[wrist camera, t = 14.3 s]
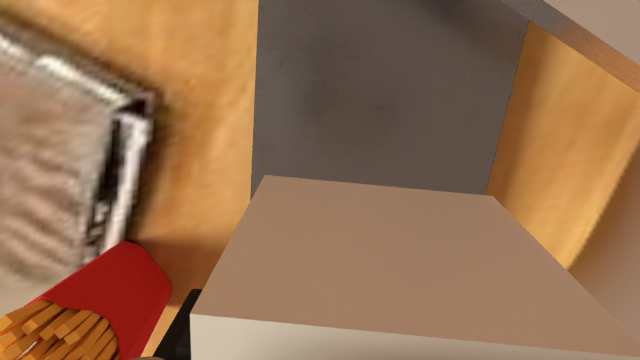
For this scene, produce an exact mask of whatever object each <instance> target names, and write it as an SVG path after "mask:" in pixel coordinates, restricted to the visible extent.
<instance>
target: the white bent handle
mask: <svg viewBox="0 0 640 360" xmlns="http://www.w3.org/2000/svg"><path fill="white" fill-rule="evenodd" d="M500 1H502V2H503V3H505V4H506V5H508V6H509V7H511V8H512V9H514V10H515V11H517V12H518V13H520V14H521V15H523V16H524V17H526V18H527V19H529V20H530V21H532V22H533V23H535V24H536V25H538V26H539V27H541V28H542V29H544V30H545V31H547V32H548V33H550V34H551V35H553V36H554V37H556V38H557V39H559V40H560V41H562V42H563V43H565V44H566V45H568V46H569V47H571V48H572V49H574V50H575V51H577V52H578V53H580V54H581V55H583V56H584V57H586V58H587V59H589V60H590V61H592V62H593V63H595V64H596V65H598V66H599V67H601V68H602V69H604V70H605V71H607V72H608V73H610V74H611V75H613V76H614V77H616V78H617V79H619V80H620V81H622V82H623V83H625V84H626V85H628V86H629V87H631V88H632V89H634V90H635V91H638V92H640V0H500Z"/></svg>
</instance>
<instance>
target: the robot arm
mask: <svg viewBox="0 0 640 360" xmlns="http://www.w3.org/2000/svg"><path fill="white" fill-rule="evenodd" d="M201 292H202V289H193V290H191V292H190V293H189V295H188V296H187V298H186V300H185V301H184V303H183V305H182V307H181V308H180V310H179V312H178V313H177V315H176V317H175V318H174V320H173V322H172V324H171V325H170V327H169V329H168V330H167V332H166V334H165V336H164V337H163V339H162V341H161V342H160V344H159V346H158V348H157V349H156V351H155V353H154V354H153V356H152V357H139V358H136V359H132V360H191V335H190V313H191V311H192V309H193V307H194V305H195V303H196V301H197V300H198V298H199V296H200V294H201Z"/></svg>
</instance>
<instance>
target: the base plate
mask: <svg viewBox="0 0 640 360" xmlns="http://www.w3.org/2000/svg"><path fill="white" fill-rule="evenodd" d="M528 21H529V19H527V18H526V17H524V16H523V15H521V14H520V13H518V12H517V11H515V10H514V9H512V8H511V7H509V6H508V5H506V4H505V3H503V2H502V1H500V0H259V6H258V30H257V55H256V79H255V103H254V127H253V151H252V175H251V199H252V198H253V196H254V194H255V192H256V190H257V188H258V186H259V185H260V183H261V181H262V179H263V177H264V175H271V176H282V177H293V178H304V179H314V180H325V181H336V182H347V183H358V184H368V185H379V186H390V187H401V188H412V189H422V190H433V191H444V192H455V193H466V194H476V195H485V193H486V189H487V185H488V181H489V177H490V173H491V169H492V165H493V161H494V157H495V153H496V149H497V145H498V141H499V137H500V133H501V129H502V125H503V121H504V117H505V113H506V109H507V105H508V101H509V97H510V93H511V89H512V85H513V81H514V77H515V73H516V69H517V65H518V61H519V57H520V53H521V49H522V45H523V41H524V37H525V33H526V29H527V25H528ZM251 199H250V201H251Z"/></svg>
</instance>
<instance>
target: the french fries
mask: <svg viewBox="0 0 640 360" xmlns="http://www.w3.org/2000/svg"><path fill="white" fill-rule="evenodd" d="M170 296H171V281H170V280H169V279H168V277H167V276H166V275H165V273H164V272H163V271H162V270H161V268H160V267H159V266H158V265H157V263H156V262H155V261H154V260H153V259H152V258H151V256H150V255H149V254H148V253H147V252H146V251H145V250H144V249H143V248H142V247H141V246H140V245H137V244H134V243H131V242H128V241H125V240H123V241H122V242H120V243H119V244H117V245H115V246H114V247H112V248H110V249H109V250H107V251H106V252H104V253H103V254H101V255H100V256H98V257H97V258H95V259H94V260H92V261H91V262H89V263H88V264H86V265H85V266H83V267H82V268H80V269H79V270H77V271H76V272H74V273H73V274H71V275H70V276H69V277H67V278H66V279H64V280H63V281H61V282H60V283H58V284H57V285H55V286H54V287H52V288H51V289H49V290H48V291H46V292H45V293H43V294H42V295H40V296H39V297H37V298H36V299H34V300H33V301H31V302H30V303H28V304H27V305H25V306H24V307H22V308H20V309H18V310H16V311H13V312H11V313H9V314H6V315H5V316H4V317H2V318H1V319H0V337H1V336H2V337H1V338H0V360H16V359H17V358H18V357H19V356H20V355H21V354H22V353H23V352H24V351H26V350H27V349H28V348H29V347H30V346H31V345H32V344H33V343H34V342H35V341H36V342H37V343H36V344H35V345H34V346H33V347H32V348H31V349H30V350H29V351H28V352H27V353H26V354H24V355H23V356H22V357H21V358H19V359H18V360H132V359H136V358H139V357H140V356H141V354H142V352H143V350H144V348H145V346H146V344H147V342H148V340H149V338H150V336H151V334H152V332H153V330H154V328H155V326H156V324H157V322H158V320H159V318H160V316H161V314H162V312H163V310H164V308H165V306H166V304H167V302H168V300H169V298H170ZM6 333H7V334H6ZM4 334H5V335H4ZM3 335H4V336H3ZM13 343H14V344H13ZM9 346H10V347H9Z"/></svg>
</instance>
